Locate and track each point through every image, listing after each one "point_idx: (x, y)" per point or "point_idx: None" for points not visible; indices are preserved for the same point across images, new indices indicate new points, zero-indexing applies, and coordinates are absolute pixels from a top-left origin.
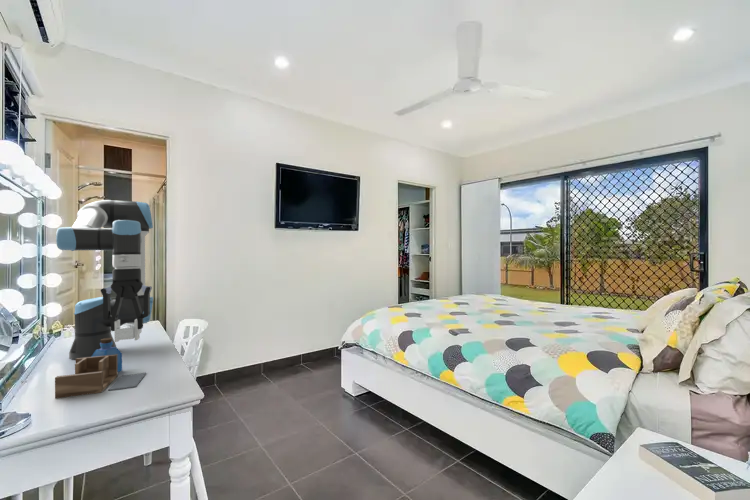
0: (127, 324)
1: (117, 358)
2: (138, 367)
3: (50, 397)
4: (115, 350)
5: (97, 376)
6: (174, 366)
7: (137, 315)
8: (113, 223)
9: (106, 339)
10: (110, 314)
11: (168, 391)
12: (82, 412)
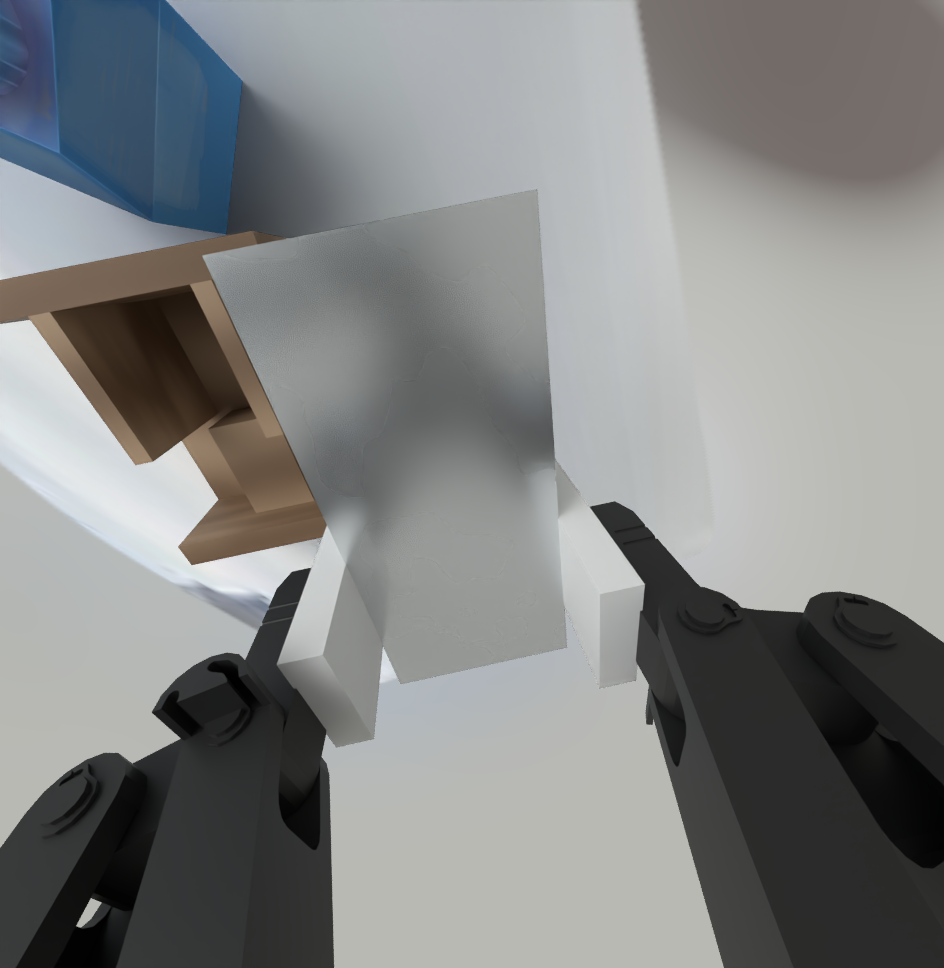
0: (363, 429)
1: (267, 236)
2: (329, 3)
3: (200, 494)
4: (97, 34)
5: None
6: (607, 80)
7: (681, 754)
8: None
9: None
10: (86, 864)
11: (630, 500)
12: None
